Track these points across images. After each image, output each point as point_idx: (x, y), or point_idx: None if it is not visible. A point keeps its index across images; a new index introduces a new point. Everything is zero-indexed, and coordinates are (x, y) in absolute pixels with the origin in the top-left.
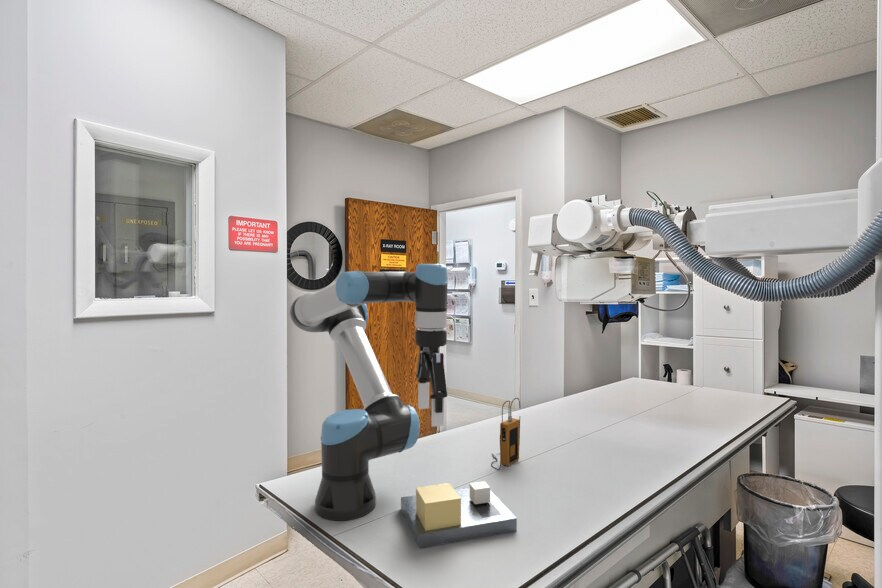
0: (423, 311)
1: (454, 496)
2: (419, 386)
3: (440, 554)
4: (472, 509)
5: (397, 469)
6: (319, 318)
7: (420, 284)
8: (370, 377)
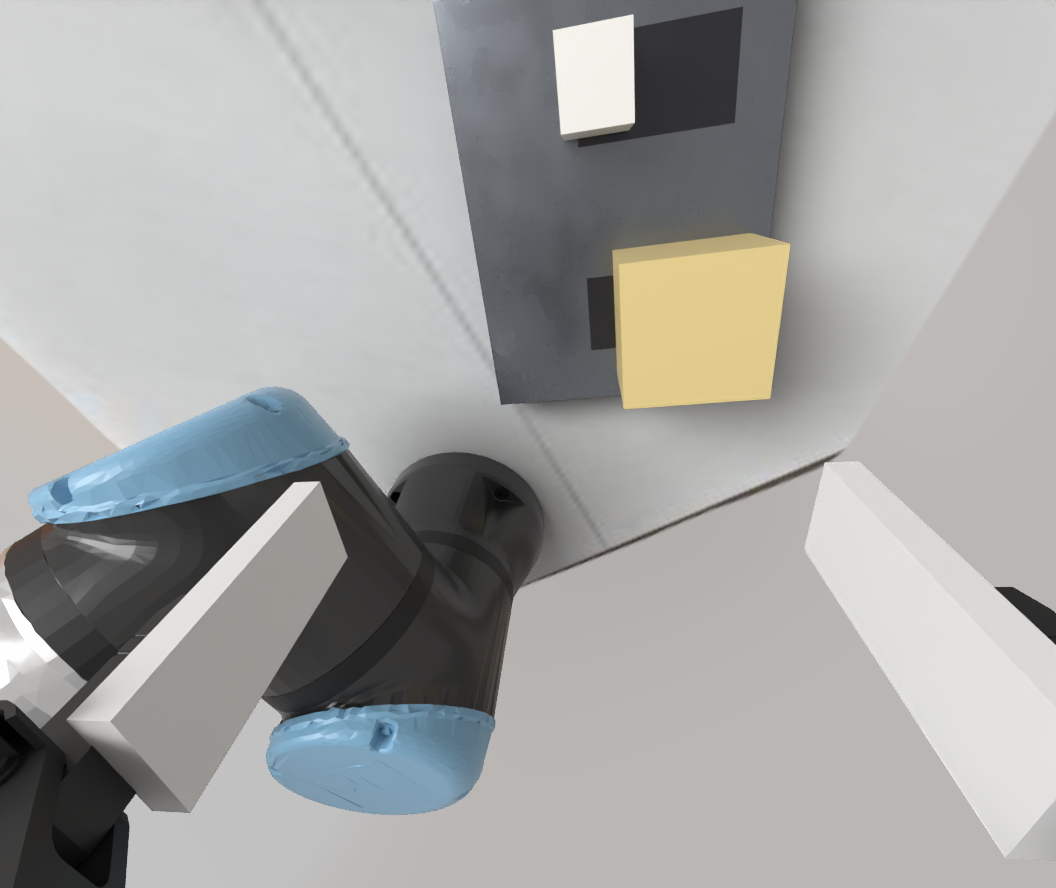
0: None
1: (762, 270)
2: (214, 764)
3: (796, 316)
4: (653, 151)
5: (219, 365)
6: None
7: None
8: None
